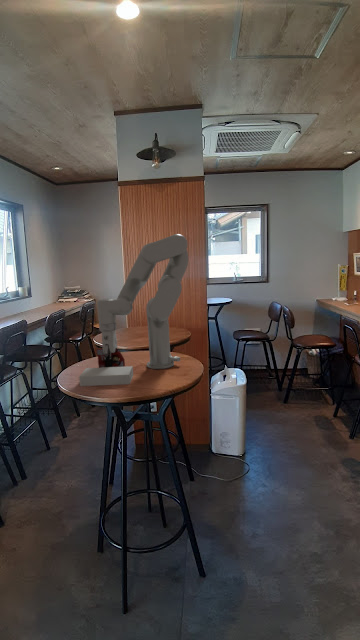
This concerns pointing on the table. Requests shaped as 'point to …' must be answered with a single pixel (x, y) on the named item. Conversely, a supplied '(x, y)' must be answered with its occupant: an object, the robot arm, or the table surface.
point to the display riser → (106, 376)
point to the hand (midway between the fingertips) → (110, 364)
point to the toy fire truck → (117, 358)
